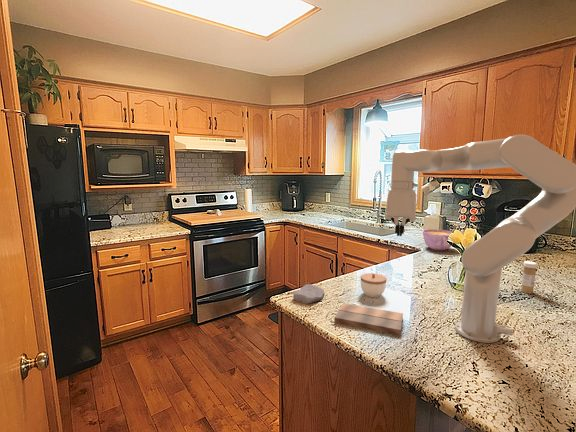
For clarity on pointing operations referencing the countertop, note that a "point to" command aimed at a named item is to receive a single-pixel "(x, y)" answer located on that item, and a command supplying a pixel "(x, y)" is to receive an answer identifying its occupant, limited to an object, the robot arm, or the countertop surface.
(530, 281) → the sprinkles bottle
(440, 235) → the bowl of food
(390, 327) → the walnut board
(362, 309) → the chestnut plank
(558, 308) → the countertop surface
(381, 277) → the lidded jar
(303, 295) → the stone block
